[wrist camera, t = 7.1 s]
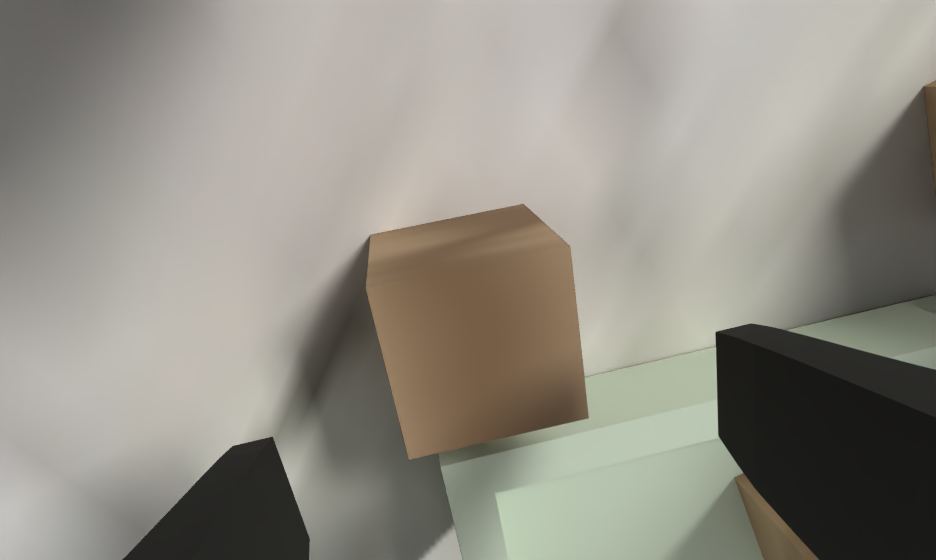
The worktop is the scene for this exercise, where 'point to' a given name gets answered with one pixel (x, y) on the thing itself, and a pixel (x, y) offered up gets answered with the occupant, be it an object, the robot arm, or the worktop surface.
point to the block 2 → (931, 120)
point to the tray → (640, 461)
